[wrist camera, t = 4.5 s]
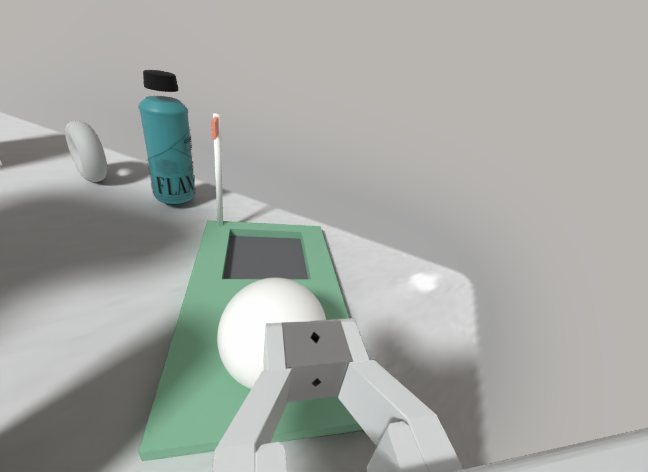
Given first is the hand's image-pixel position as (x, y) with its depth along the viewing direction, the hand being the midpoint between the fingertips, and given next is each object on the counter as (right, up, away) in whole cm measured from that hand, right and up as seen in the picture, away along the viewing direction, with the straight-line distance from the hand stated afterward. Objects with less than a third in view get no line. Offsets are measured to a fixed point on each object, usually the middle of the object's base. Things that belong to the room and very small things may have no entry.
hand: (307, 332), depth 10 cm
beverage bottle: (-25, +9, +39) cm, 47 cm away
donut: (-41, +13, +40) cm, 59 cm away
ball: (-4, -5, +14) cm, 15 cm away
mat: (-6, -4, +24) cm, 26 cm away
